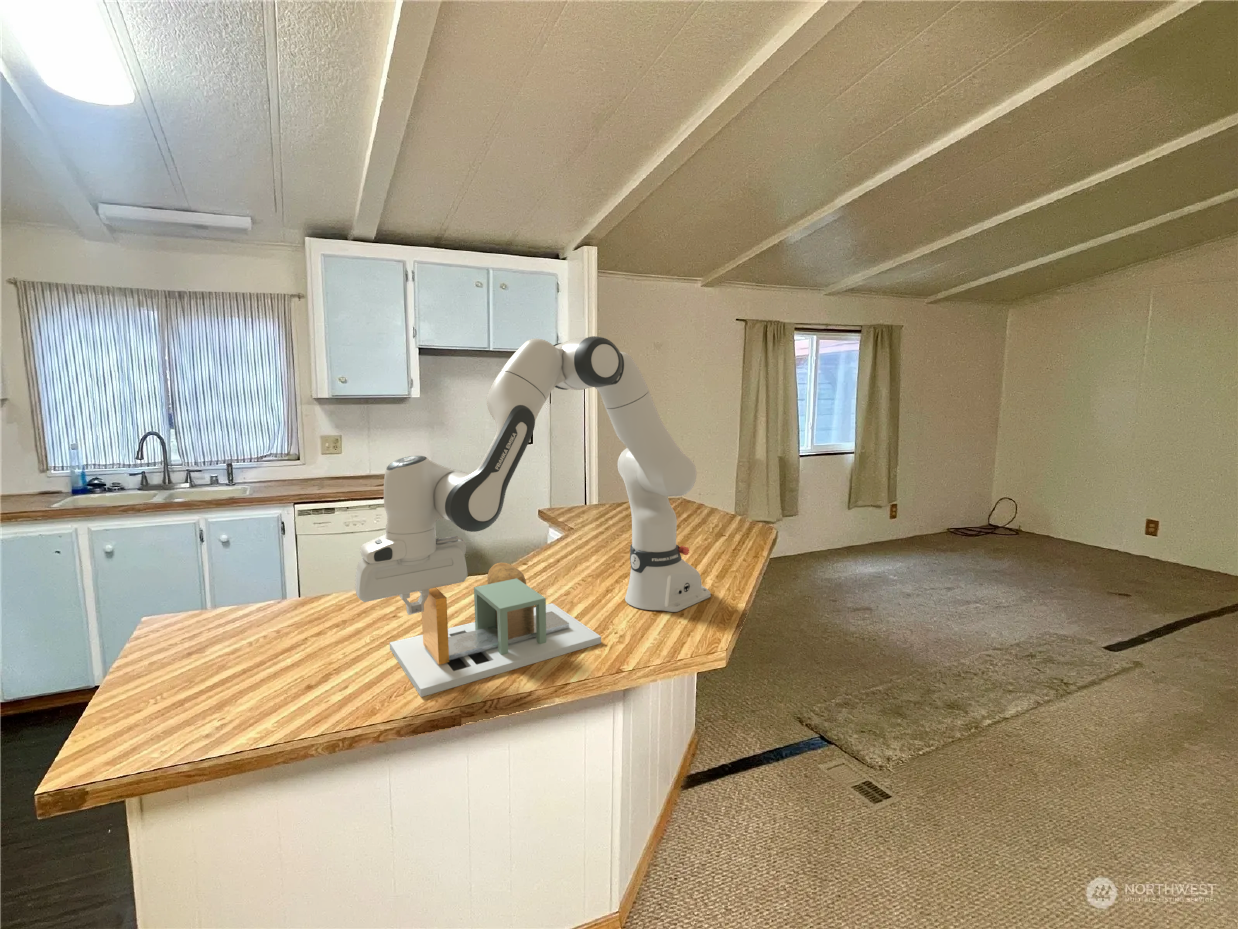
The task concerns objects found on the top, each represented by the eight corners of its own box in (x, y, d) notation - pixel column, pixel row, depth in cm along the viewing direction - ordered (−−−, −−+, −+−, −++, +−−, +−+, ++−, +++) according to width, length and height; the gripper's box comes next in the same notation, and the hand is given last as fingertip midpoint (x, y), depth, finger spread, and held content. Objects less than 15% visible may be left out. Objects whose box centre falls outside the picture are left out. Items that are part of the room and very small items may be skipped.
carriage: (549, 613, 137) (549, 558, 135) (571, 629, 129) (571, 571, 127) (423, 645, 121) (420, 583, 119) (438, 665, 113) (435, 599, 111)
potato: (497, 610, 143) (496, 579, 142) (480, 591, 155) (480, 562, 154) (535, 603, 148) (534, 572, 147) (516, 585, 160) (516, 557, 159)
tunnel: (517, 619, 135) (516, 578, 133) (546, 642, 123) (545, 598, 122) (475, 629, 129) (473, 587, 128) (501, 655, 118) (500, 608, 116)
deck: (552, 609, 144) (552, 603, 144) (601, 643, 126) (601, 636, 126) (389, 649, 123) (389, 642, 123) (420, 697, 105) (420, 689, 105)
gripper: (459, 530, 120) (462, 595, 122) (350, 547, 109) (355, 619, 111) (470, 538, 115) (473, 605, 117) (357, 556, 103) (363, 631, 106)
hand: (415, 612), depth 114 cm, fingers closed
